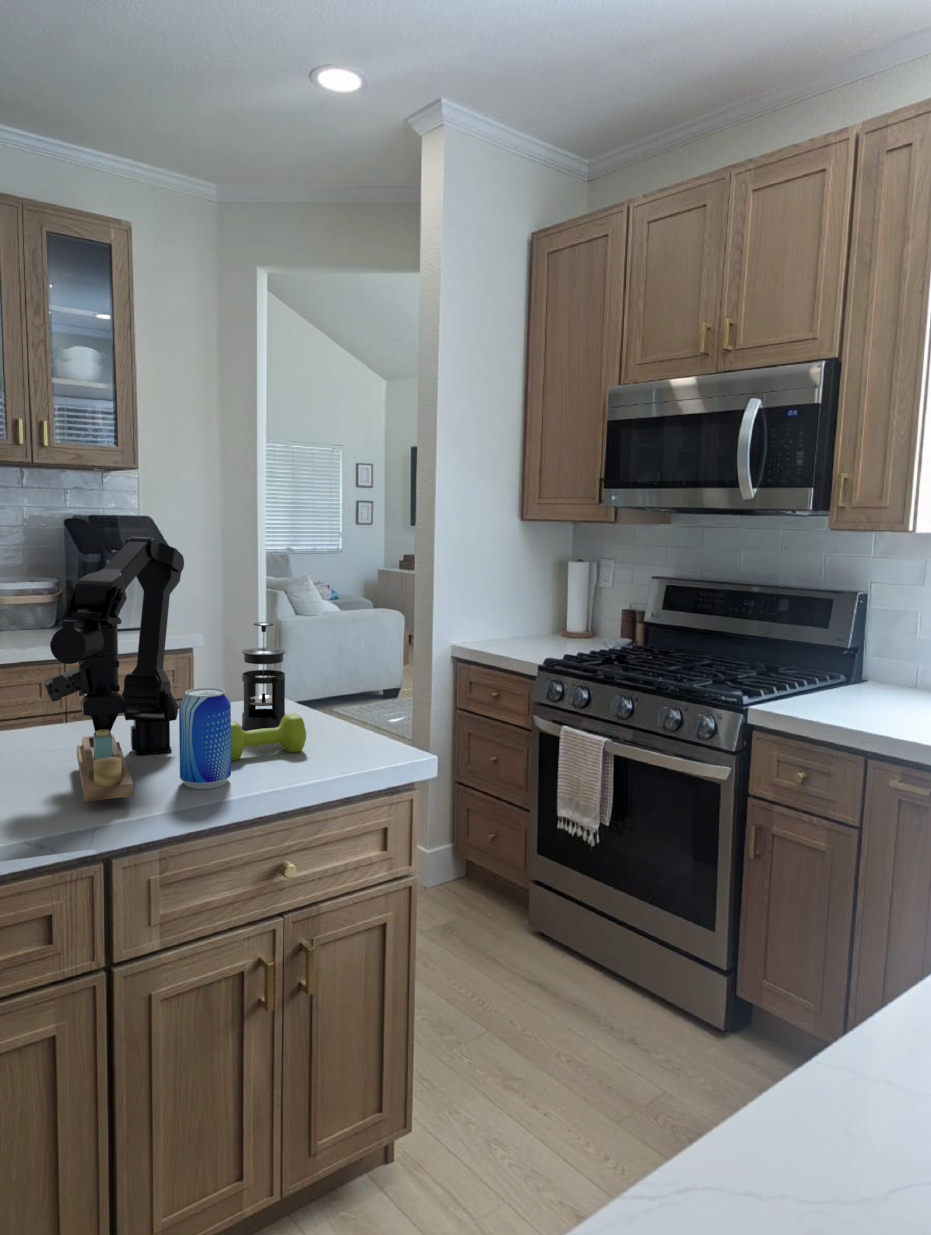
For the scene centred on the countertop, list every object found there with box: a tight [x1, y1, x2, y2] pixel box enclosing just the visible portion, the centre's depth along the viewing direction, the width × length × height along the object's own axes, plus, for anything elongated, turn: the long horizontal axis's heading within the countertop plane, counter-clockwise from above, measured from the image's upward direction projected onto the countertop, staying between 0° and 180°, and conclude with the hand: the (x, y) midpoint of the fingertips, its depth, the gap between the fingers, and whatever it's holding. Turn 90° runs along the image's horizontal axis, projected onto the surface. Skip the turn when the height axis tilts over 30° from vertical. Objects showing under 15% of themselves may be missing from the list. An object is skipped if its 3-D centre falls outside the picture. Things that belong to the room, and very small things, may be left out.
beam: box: [76, 733, 134, 802], centre depth 146 cm, size 7×26×8 cm, turn 26°
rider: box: [93, 729, 113, 760], centre depth 145 cm, size 3×4×6 cm, turn 26°
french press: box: [240, 621, 286, 731], centre depth 186 cm, size 12×9×23 cm
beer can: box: [178, 687, 232, 790], centre depth 149 cm, size 8×8×16 cm
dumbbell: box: [231, 713, 307, 762], centre depth 168 cm, size 16×8×7 cm, turn 122°
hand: (101, 744), depth 148 cm, fingers closed
